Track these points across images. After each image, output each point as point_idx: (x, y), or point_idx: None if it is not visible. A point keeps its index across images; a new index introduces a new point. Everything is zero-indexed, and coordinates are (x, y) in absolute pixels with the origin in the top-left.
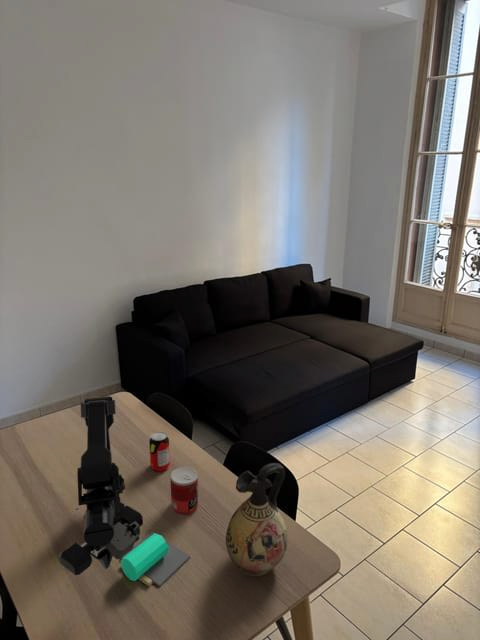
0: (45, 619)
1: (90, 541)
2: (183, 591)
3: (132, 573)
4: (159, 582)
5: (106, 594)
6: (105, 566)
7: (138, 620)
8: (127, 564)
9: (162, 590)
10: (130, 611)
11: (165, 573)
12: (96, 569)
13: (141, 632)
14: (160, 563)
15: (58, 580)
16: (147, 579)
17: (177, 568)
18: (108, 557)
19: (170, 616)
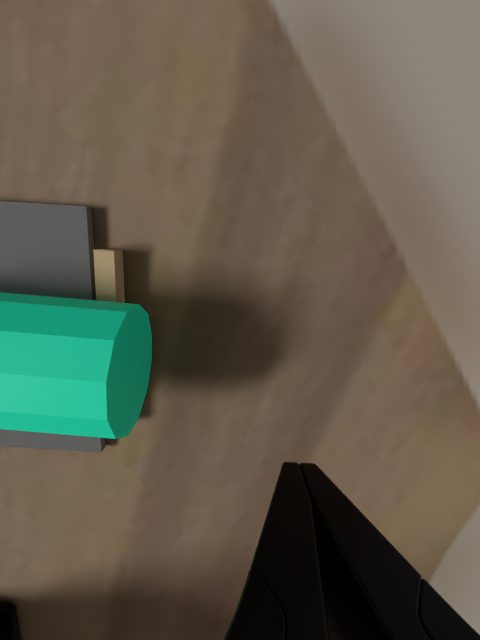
0: (445, 471)
1: None
2: (30, 80)
3: (136, 341)
4: (76, 218)
5: (256, 374)
6: (343, 494)
7: (275, 167)
8: (122, 391)
9: (96, 182)
10: (261, 233)
11: (22, 228)
12: (197, 482)
13: (313, 108)
14: (1, 289)
15: None
16: (104, 272)
17: None
18: (318, 577)
19: (174, 37)
